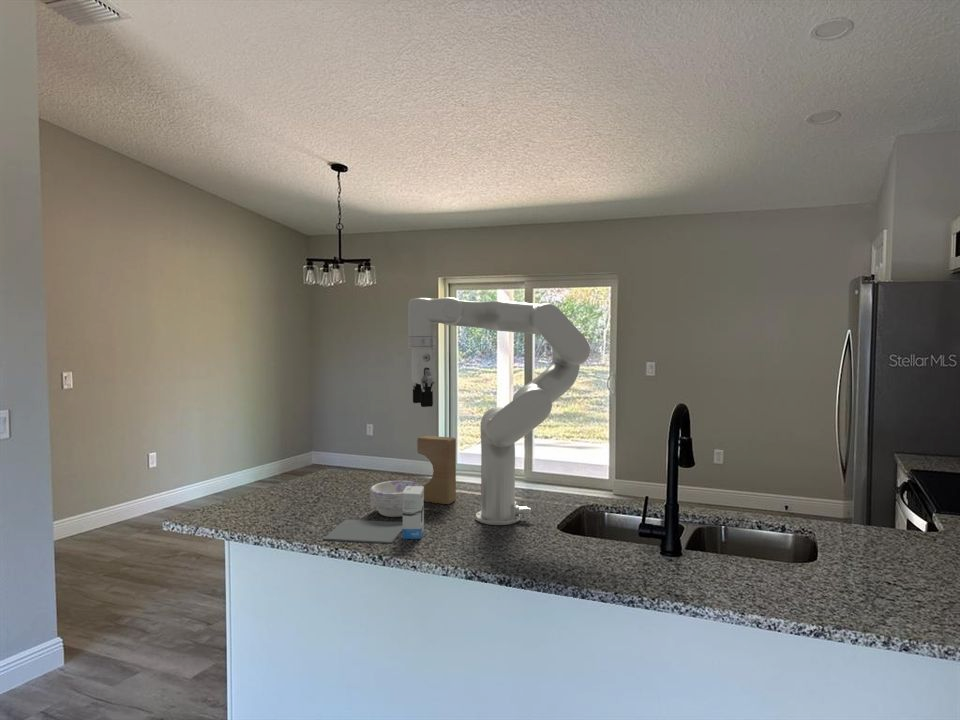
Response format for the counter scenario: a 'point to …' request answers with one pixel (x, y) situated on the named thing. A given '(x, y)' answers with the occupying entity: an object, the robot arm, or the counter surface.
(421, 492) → the ink box
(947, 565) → the counter surface
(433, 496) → the decorative block
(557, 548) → the counter surface
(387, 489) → the paper bowls
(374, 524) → the mat
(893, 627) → the counter surface
